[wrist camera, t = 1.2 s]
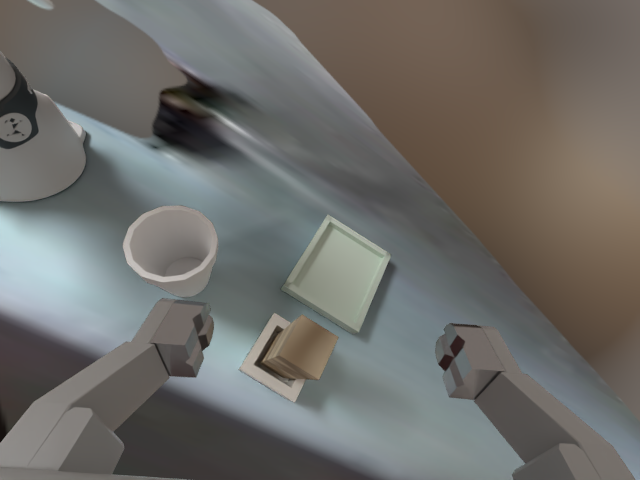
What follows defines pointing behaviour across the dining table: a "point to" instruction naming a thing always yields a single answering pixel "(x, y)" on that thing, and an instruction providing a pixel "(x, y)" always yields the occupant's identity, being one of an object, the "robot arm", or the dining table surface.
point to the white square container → (263, 375)
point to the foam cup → (172, 249)
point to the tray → (338, 274)
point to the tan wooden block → (300, 350)
